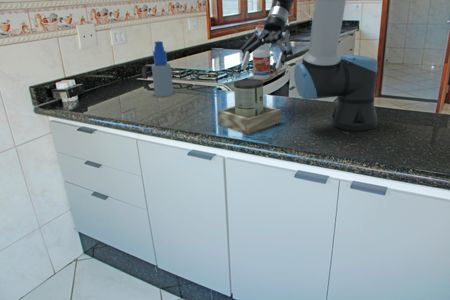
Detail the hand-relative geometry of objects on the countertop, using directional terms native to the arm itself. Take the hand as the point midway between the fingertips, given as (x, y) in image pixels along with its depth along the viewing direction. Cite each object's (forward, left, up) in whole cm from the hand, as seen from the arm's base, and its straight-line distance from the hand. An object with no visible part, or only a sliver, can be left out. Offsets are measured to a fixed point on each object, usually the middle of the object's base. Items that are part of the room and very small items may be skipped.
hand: (259, 69), depth 136 cm
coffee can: (-3, +9, -17) cm, 20 cm away
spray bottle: (+61, +6, -18) cm, 64 cm away
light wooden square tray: (-3, +9, -18) cm, 20 cm away
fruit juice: (+50, -50, -18) cm, 73 cm away
